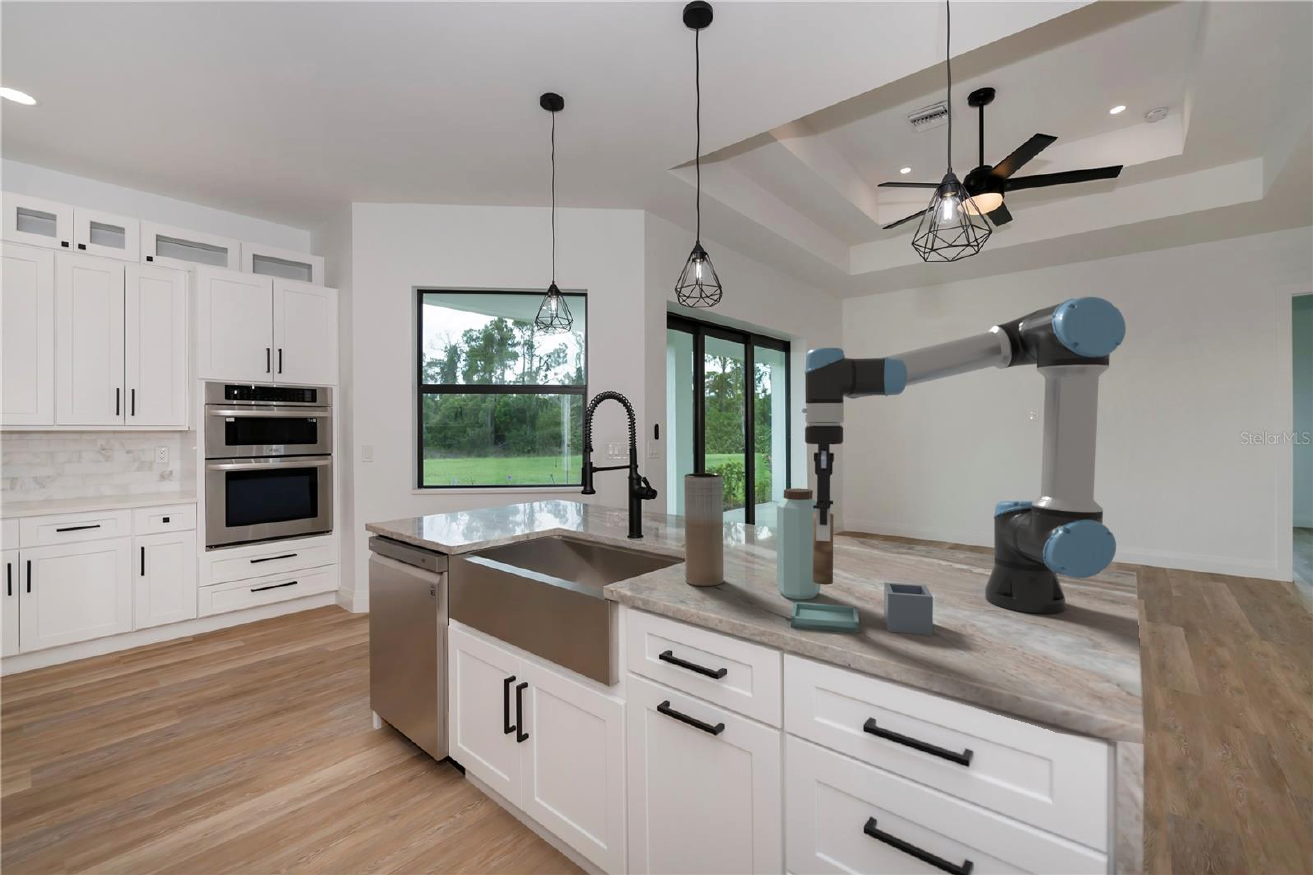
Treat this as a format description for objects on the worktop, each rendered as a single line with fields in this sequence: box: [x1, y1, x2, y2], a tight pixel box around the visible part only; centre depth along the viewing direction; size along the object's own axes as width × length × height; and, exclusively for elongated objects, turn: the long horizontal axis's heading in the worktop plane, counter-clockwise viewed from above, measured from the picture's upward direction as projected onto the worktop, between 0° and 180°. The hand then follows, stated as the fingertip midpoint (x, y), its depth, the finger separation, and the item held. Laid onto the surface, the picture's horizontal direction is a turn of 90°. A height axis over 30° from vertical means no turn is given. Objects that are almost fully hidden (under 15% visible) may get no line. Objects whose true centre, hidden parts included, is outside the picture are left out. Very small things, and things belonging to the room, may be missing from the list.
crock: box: [883, 581, 934, 636], centre depth 115 cm, size 8×8×8 cm
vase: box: [683, 472, 725, 587], centre depth 148 cm, size 10×10×28 cm
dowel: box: [813, 513, 834, 585], centre depth 118 cm, size 4×4×14 cm
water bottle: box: [776, 487, 821, 601], centre depth 136 cm, size 10×10×25 cm
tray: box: [790, 601, 860, 634], centre depth 118 cm, size 13×10×2 cm
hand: (823, 537), depth 118 cm, fingers closed on dowel, 4 cm apart
